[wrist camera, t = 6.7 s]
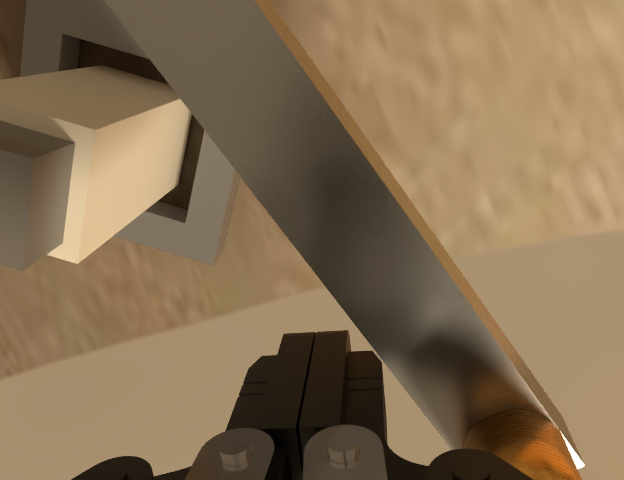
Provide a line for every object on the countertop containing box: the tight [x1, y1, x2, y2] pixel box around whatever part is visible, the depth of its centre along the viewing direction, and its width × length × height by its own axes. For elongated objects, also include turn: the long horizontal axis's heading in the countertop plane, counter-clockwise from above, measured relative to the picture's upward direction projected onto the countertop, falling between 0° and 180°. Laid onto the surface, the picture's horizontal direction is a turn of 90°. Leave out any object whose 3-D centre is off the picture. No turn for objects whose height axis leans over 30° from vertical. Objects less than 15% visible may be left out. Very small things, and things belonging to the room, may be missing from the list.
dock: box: [20, 0, 240, 266], centre depth 17 cm, size 18×9×12 cm, turn 165°
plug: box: [0, 65, 192, 271], centre depth 19 cm, size 4×4×11 cm
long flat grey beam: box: [104, 0, 585, 480], centre depth 9 cm, size 19×3×4 cm, turn 37°
